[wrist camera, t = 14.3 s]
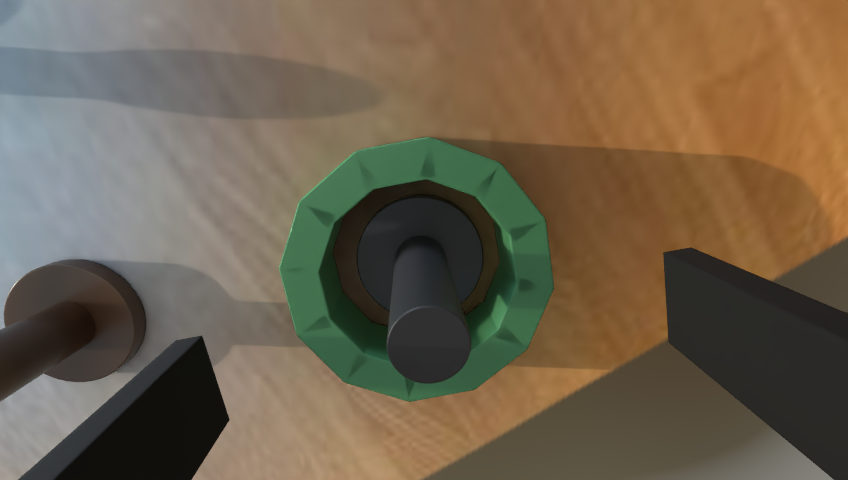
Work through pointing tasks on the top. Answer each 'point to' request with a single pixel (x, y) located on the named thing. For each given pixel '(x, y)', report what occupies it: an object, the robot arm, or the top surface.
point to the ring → (367, 342)
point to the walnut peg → (68, 325)
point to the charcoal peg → (422, 282)
